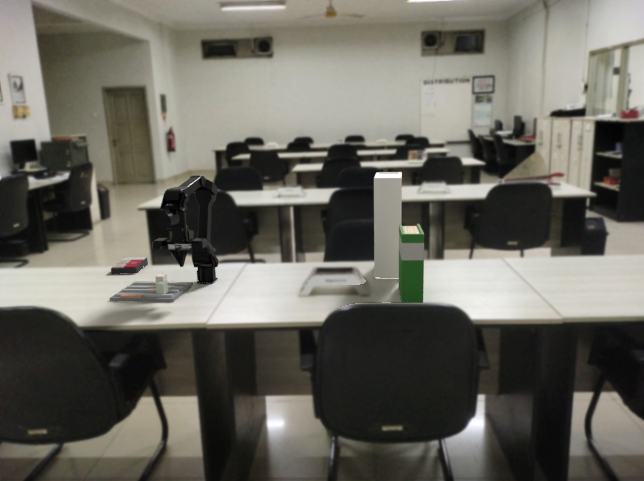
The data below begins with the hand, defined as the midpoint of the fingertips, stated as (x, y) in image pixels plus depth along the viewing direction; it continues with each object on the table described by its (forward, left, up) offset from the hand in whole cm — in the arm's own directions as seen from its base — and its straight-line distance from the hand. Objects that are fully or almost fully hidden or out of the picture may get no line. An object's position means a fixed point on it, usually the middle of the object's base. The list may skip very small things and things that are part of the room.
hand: (182, 266), depth 190 cm
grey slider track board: (+14, -5, -12) cm, 19 cm away
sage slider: (+8, 0, -10) cm, 13 cm away
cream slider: (+13, -9, -10) cm, 18 cm away
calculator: (+39, -36, -12) cm, 55 cm away
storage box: (-74, -36, -12) cm, 83 cm away
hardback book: (-82, -8, -12) cm, 83 cm away
